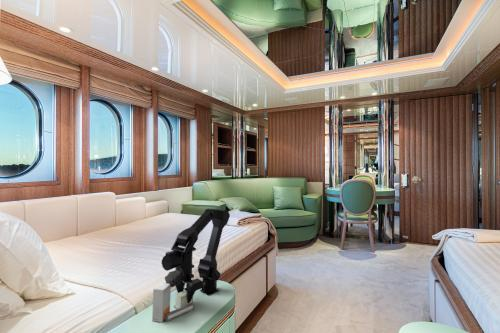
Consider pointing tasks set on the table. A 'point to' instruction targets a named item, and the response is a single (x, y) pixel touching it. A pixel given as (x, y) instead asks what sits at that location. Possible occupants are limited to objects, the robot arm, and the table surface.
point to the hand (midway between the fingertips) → (184, 300)
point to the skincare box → (161, 302)
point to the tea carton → (181, 299)
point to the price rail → (179, 312)
